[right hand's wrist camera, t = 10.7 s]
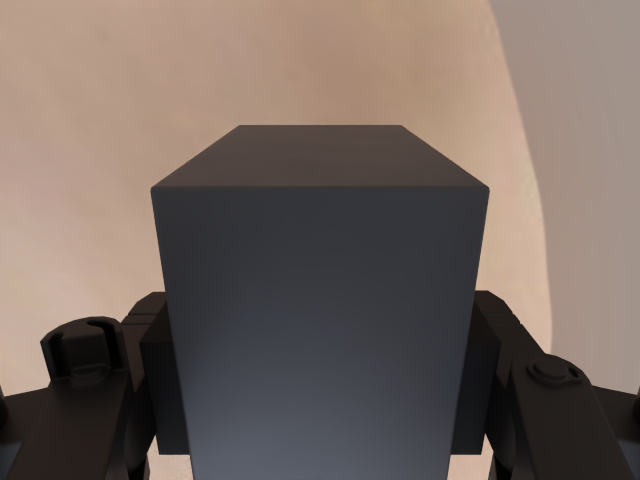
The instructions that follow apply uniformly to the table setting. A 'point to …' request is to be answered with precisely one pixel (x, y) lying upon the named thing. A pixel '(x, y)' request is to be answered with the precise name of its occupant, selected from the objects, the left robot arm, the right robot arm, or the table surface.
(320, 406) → the beam
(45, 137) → the table surface
